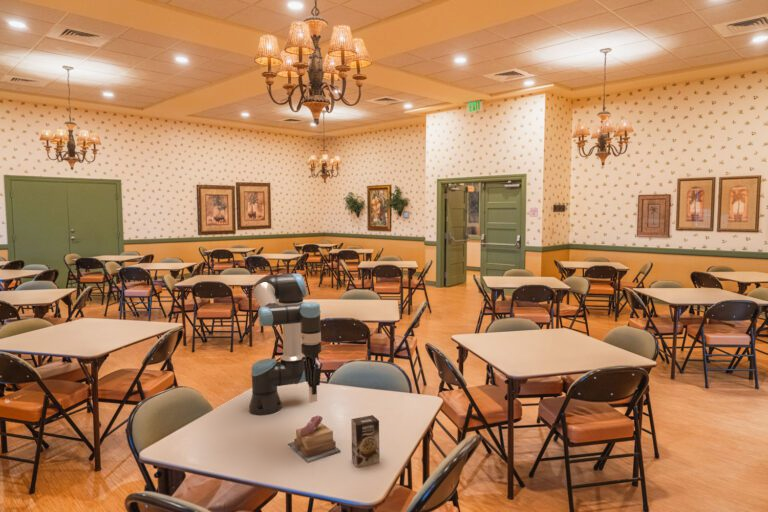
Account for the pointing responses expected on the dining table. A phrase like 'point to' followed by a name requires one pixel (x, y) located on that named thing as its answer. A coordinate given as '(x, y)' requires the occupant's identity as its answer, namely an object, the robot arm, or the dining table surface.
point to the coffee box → (365, 440)
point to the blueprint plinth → (315, 444)
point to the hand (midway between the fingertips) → (313, 401)
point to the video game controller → (311, 425)
